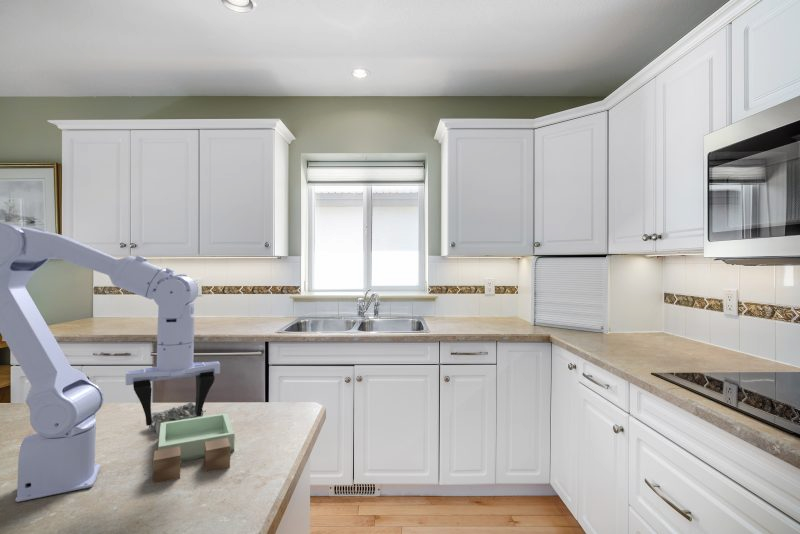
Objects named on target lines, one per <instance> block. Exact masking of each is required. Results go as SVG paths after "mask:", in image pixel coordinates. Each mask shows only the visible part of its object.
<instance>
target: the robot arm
mask: <svg viewBox="0 0 800 534" xmlns="http://www.w3.org/2000/svg"><path fill="white" fill-rule="evenodd" d="M50 260H63V261H65V262H69V263H72V264H74V265H78V266H81V267H83V268H86V269H88V270H92V271H95V272H97V273H100V274H104V275H107V276H108V277H109V279H110V281H111V284H112V285H113V286H114V287H117V288H118V289H122V290H125V291H128V292H129V293H133V294H136V295H138V296H141V297H144V298H146V299H149V300H153V301H154V302H155V304H156V305H157V306H158V309H157V314H158V315H157V335H156V336H157V337H156V338H157V341H156V343H157V344H156V366H152V367H148V368H146V367H145V368H140V369H134V370H128V371H127V370H126V371H125V386H132V387H133V391H134V393H135V395H136V396H137V398H138V399H139V400H138V401H139V403H140V405H141V407H142V409H143V412H144V416H145V424H146V426H148V427H149V425H151V423H152V418H151V414H152V408H151V405H152V391H153V389H152V382H154V381H155V382H157V381H165V380H171V379H179V378H188V377H195V389H196V390H195V394H196V395H195V404H194V405H195V414H196V416H201V413H202V410H203V408H204V405H205V402H206V398H207V396H208V394H209V391H210V389H211V388H212V386H213V384H214V382H215V375H217V374H218V375H219V374H220V373H221V363H220V362H219V361H218V360H217V361H216V360H215V361H208V362H207V361H204V362H203V361H202V362H194V359H195V358H194V357H195V356H194V354H195V352H194V349H195V348H194V347H195V346H194V344H195V314H194V313H195V302H194V301H195V300H196V299H197V297H198V294H199V286H198V284H197V283H196V281H195V280H194V279H193V278H191V277H189V276H188V275H187V274H184V273H183V274H174V271H175V270H174V269H173V268H170V267H166V269H165V268H162V267H160V266H158V265H155V264H152V263H150V262H148V258H147V257H144V256H142V255H136V256H132V255H129V256H124V257H123V258H117V257H115V256H113V255H111V254H108V253H105V252H103V251H102V250H99V249H97V248H95V247H91V246H89V245H88V244H85V243H83V242H80V241H78V240H76V239H73V238H71V237H69V236H66V235H63V234H60V233H59V234H58V233H56V232H51V231H47V230H45V229H43V228H39V227H38V228H37V227H24V226H21V225H20V226H18V225H13V224H10V223H6V222H2V221H1V222H0V335H1V337H2V338H3V340H4V341H5V343H6V344H7V346H8V348H9V350H10V351H11V353H12V355H13V357H14V358H15V360H16V361H17V363H18V365H19V367H20V368H21V370H22V372H23V374H24V375H25V377H26V378H27V380H28V381H29V384H30V389H29V391H28V393H27V395H26V398H25V404H26V405H27V407H28V409H29V413H30V414H29V421H30V425H31V427H32V429H33V431H35V433H32V434H28V435H25V436H24V437H23V440H22V442H21V444H20V447H19V448H20V449H19V453H18V461H17V462H18V463H17V464H18V465H17V486H16V488H17V490H16V491H17V492H16V497H15V502H18V503H19V502H24V501H28V500H33V499H40V498H43V497H48V496H53V495H58V494H64V493H68V492H73V491H77V490H82V489H83V490H84V489H88V488H92V487H93V486H94V484H95V482H96V479H97V476H98V474H99V471H100V468H101V463H95V462H96V431H97V430H96V429H97V419H96V413H97V412H98V411H100V410H101V408H102V407H103V404H104V399H105V397H104V393H103V390H102V389H101V388H100V387H99V386H98V385H96V384H95V383H93V382H91V380H90V379H88V377H87V374H85V373H84V372H82V371H80V370H78V369H76V368H74V367H72V366H71V364H70V362H69V361H68V359H67V357H66V355H65V354H64V352H63V350H62V348H61V347H60V345H59V344H58V341H57V340H56V337H54V334H53V333H52V331H51V329H50V327H49V326H48V325H47V323H46V320H45V319H44V318H43V316H42V314H41V312H40V310H39V308H38V307H37V305H36V304H35V302H34V300H33V299H32V296H31V295H30V293H29V291H28V290H27V287H26V286H27V284H28V282H29V280H30V279H31V277H32V276H33V275H34V274H35V273H36V272H38V270H39V269H41V268H42V267H43V266H44V265H45V264H46V263H47V262H49V261H50Z"/></svg>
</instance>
